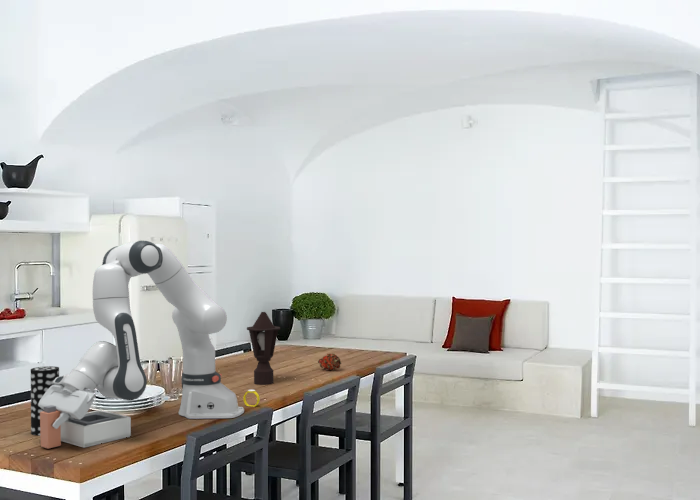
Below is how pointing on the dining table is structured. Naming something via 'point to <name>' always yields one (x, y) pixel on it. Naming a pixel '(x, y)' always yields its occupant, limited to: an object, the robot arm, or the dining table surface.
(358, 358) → the dining table surface
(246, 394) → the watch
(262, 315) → the lantern
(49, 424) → the connector
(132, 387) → the robot arm
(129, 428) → the walled box
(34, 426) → the spotted tube
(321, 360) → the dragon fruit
